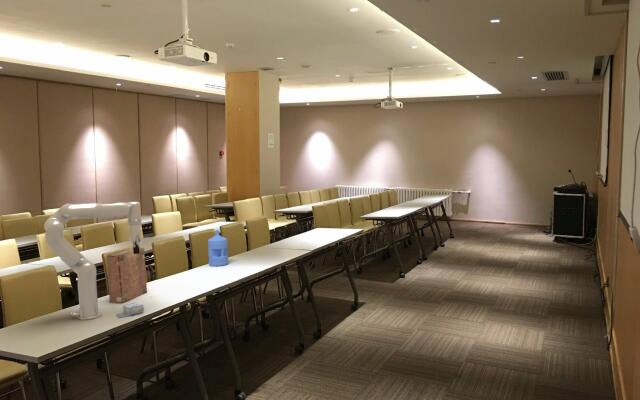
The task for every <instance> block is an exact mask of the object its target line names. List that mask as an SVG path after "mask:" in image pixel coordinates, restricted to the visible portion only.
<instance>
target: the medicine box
mask: <svg viewBox="0 0 640 400" xmlns="http://www.w3.org/2000/svg"><path fill="white" fill-rule="evenodd" d="M122 307H123V309H122V310H123V311H122V313H125V314H129V315H133V316H135V315H134V314H138V313H144V312H145V311H144V304H142V303H138V302H132V303H127V304H124V305H123V306H122Z"/></svg>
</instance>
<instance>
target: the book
mask: <svg viewBox="0 0 640 400" xmlns="http://www.w3.org/2000/svg"><path fill="white" fill-rule="evenodd" d="M139 250H140V253H139V254H134V253H133V247H128V248H125V249H122V250H118V251H115V252H112V253H108V254H106V266H107V267H106V269H107V279H108V281H107V282H108V284H107V285H108V293H109V295H108V296H109V297H108V298H109V303H110V304H112V303H113V304H124V303H127V302H129V301H132V300H134V299H136V298H138V297H141V296H143V295H146V294H147V293H148V290H147V289H148V287H147V285H148V284H147V274H146V273H147V272H146V257H145V255H146V253H145V248H144V247H141V248H139Z"/></svg>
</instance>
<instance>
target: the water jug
mask: <svg viewBox="0 0 640 400" xmlns="http://www.w3.org/2000/svg"><path fill="white" fill-rule="evenodd" d="M207 248H208V249H207V250H208V254H207V255H208V265H209V266H210V267H224V266H228V265H229V255H228V238H226V237H224V236H222V235H220V230H219V229H216V230H214V236H212V237H211V238H209V239H208V240H207Z"/></svg>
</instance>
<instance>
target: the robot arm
mask: <svg viewBox="0 0 640 400" xmlns="http://www.w3.org/2000/svg"><path fill="white" fill-rule="evenodd" d="M141 209H142V208H141V203H140V202H139V201H128V202H124V201H123V202H121V201H120V202H119V201H118V202H115V203H98V202H91V203H90V202H87V203H86V202H85V203H64V204H63V205H62V206H60V207H59V209H57V210H56V211H55V212H54V213H53V214H51V216H50V217H48V218H47V219H46V220H45V222H44V223H43V224H44V225H43V227H44V230H45V235H44V238H45V242H46V245H47V246H48V247H49V249H50V250H51V251H53V252H54V253H55V255H56V256H58V258H60V260H61V262H63V263H64V264H65V265H66V266H67V267H68V268H70V269H71V270H72V271H73V272H74V273H75V274H77V291H78V294H77V295H78V305H79V308H78V310H76V311H71V312H70V316H71V317H72V316H73V317H75V316H76V317H77V319H78V320H83V321H84V320H85V321H86V320H88V321H89V320H93V319H96V318H100V317H101V316H102V312H101V311H99V302H98V301H99V300H98V287H97V267H96V265H95V264H94V263H93V262H92V261H91V260H89V259H87V258H86V256H84V255H83V254H82V253H81V252H80V250H78V249H77V248H76V247H75V246H73V245H72V244H71V243H69V241H68V240H67V239H66V238H65V237H64V235H63V232H64V229H65V228H64V227H65V225H66V224H67V223H69V221H72V220H85V219H89V220H90V219H101V218H102V219H103V218H105V219H106V218H121V217H126V216H127V226H128V231H129V232H128V234H129V235H128V236H129V237H128V238H129V240H128V241H129V242H130V243H132V248H133V253H134V254H139V253H140V250H139V249H140V243H141V241H142V235H141V234H142V233H141V226H142V212H141V211H142V210H141Z"/></svg>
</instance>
